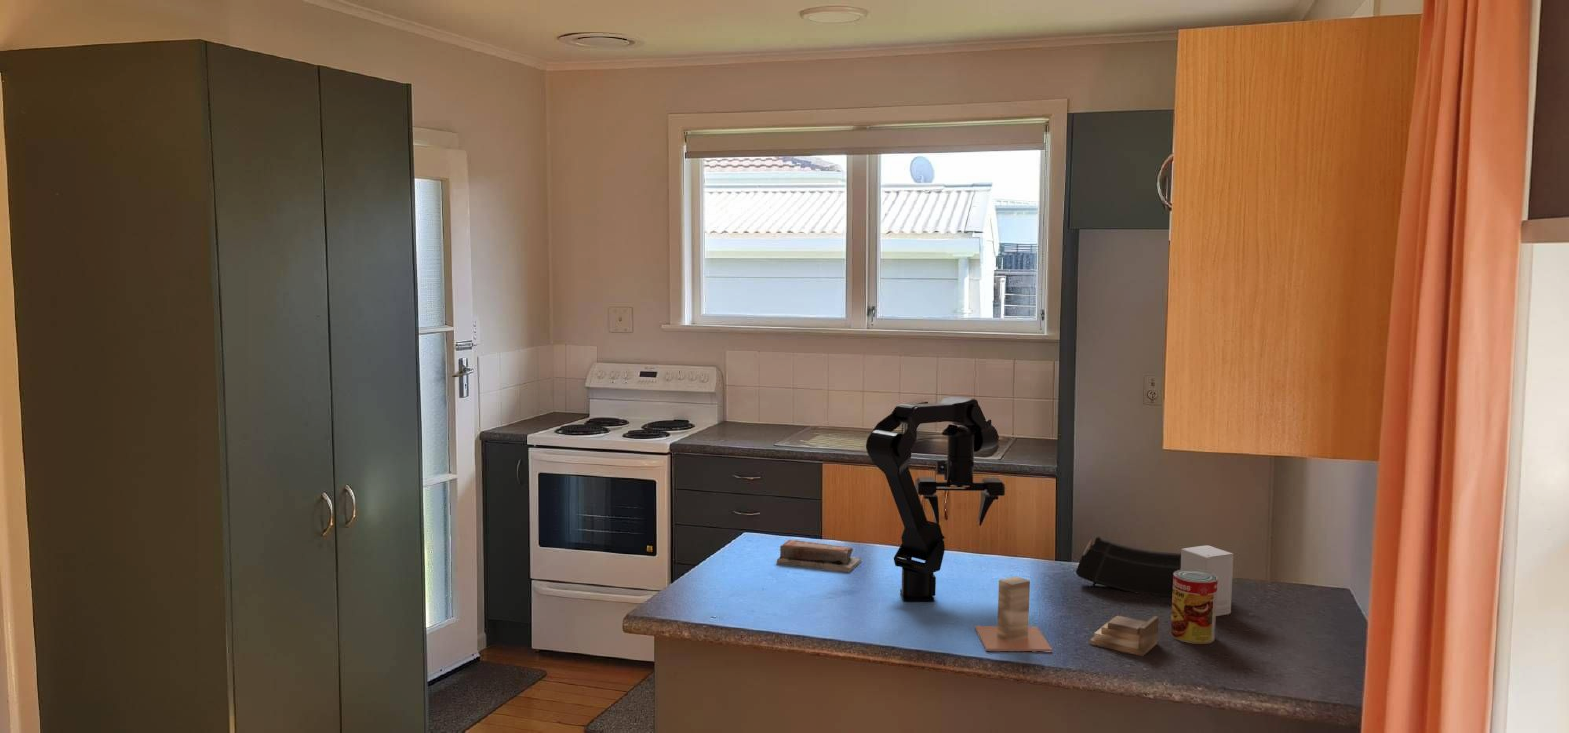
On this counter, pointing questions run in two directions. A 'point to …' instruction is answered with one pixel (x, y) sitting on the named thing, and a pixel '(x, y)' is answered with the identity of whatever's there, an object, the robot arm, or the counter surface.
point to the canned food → (1194, 606)
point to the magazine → (1129, 568)
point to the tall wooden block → (1013, 609)
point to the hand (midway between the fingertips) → (958, 525)
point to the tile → (998, 644)
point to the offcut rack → (1127, 635)
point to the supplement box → (1212, 571)
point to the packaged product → (817, 556)
